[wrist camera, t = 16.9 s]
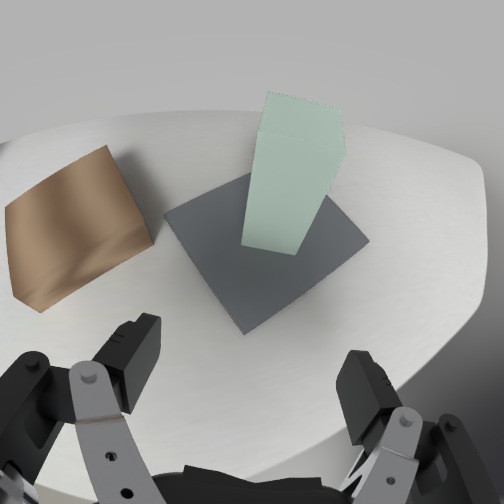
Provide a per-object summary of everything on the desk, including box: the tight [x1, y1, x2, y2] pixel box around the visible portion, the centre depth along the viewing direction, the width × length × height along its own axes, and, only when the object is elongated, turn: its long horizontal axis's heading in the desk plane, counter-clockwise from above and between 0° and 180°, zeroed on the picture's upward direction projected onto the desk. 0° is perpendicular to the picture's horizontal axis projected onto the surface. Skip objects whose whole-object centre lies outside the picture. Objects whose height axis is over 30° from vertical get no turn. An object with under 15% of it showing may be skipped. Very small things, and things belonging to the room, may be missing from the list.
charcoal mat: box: [164, 172, 369, 335], centre depth 23 cm, size 14×12×1 cm
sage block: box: [241, 92, 346, 255], centre depth 18 cm, size 4×4×11 cm
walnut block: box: [5, 145, 154, 313], centre depth 19 cm, size 12×10×4 cm
